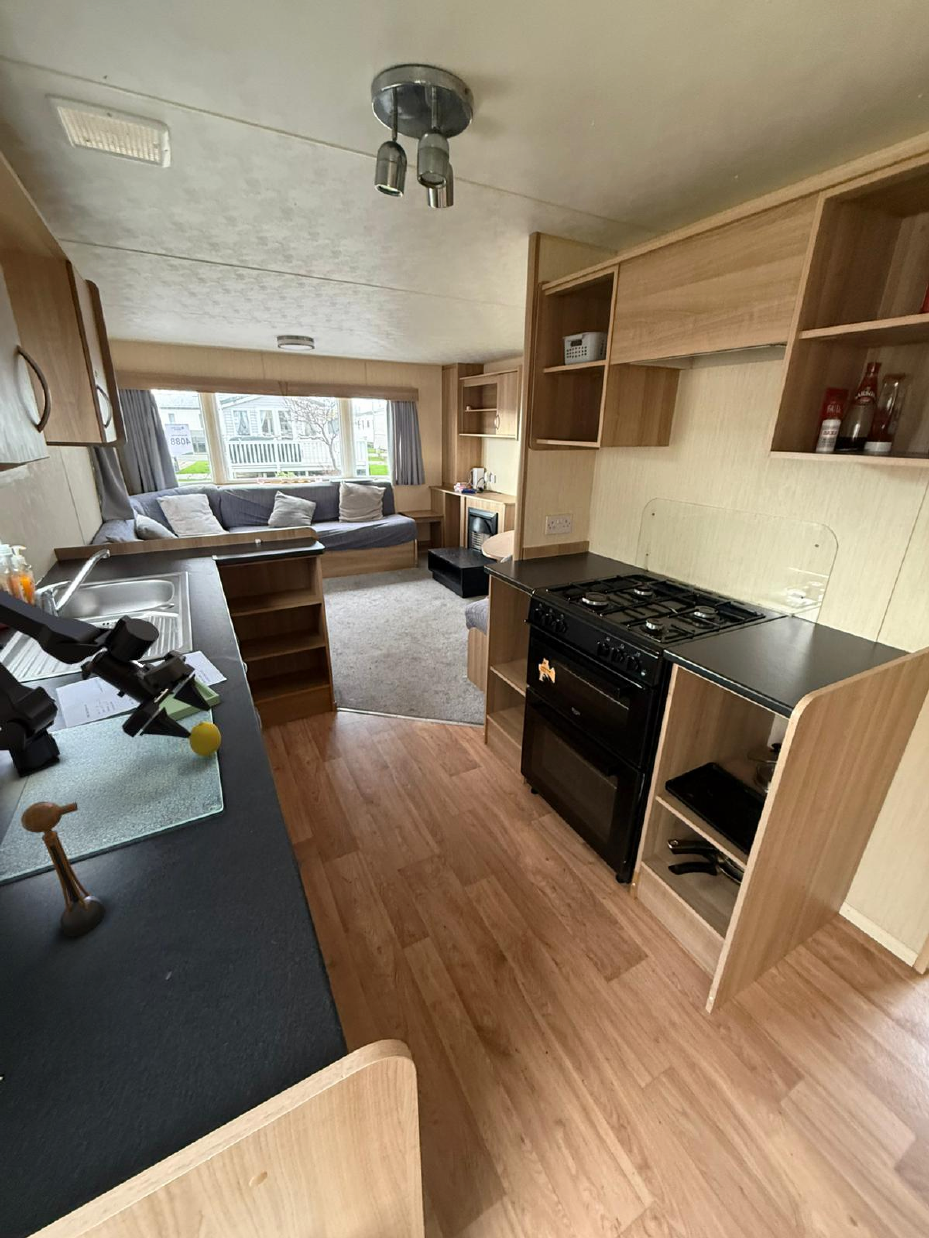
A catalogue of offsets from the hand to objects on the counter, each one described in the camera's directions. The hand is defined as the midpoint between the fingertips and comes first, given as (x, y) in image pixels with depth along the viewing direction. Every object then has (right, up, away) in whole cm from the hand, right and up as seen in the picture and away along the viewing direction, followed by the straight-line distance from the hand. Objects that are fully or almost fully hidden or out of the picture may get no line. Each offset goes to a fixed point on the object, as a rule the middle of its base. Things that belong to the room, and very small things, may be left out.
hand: (200, 722), depth 99 cm
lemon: (0, -8, +3) cm, 8 cm away
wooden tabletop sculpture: (0, -21, -30) cm, 36 cm away
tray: (-16, 0, +21) cm, 26 cm away
